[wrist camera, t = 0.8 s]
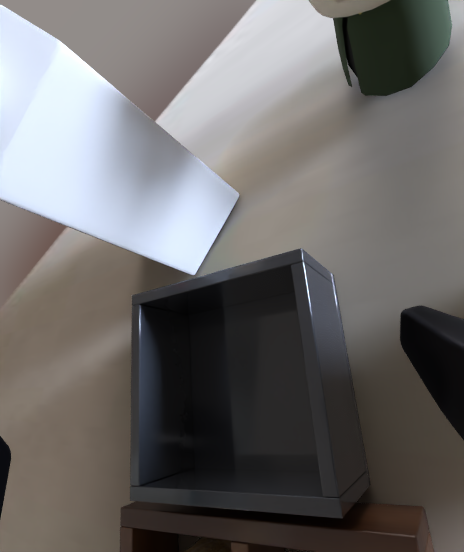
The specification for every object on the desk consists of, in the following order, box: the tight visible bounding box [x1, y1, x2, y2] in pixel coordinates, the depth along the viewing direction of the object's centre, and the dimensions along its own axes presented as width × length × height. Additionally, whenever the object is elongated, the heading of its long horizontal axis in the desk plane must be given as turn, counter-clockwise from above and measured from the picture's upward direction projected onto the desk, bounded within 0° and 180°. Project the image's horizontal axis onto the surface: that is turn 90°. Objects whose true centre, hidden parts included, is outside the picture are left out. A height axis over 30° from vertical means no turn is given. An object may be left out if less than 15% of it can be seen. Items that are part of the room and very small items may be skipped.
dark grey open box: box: [130, 248, 370, 519], centre depth 21 cm, size 11×11×6 cm
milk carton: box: [0, 5, 239, 275], centre depth 22 cm, size 7×7×19 cm
